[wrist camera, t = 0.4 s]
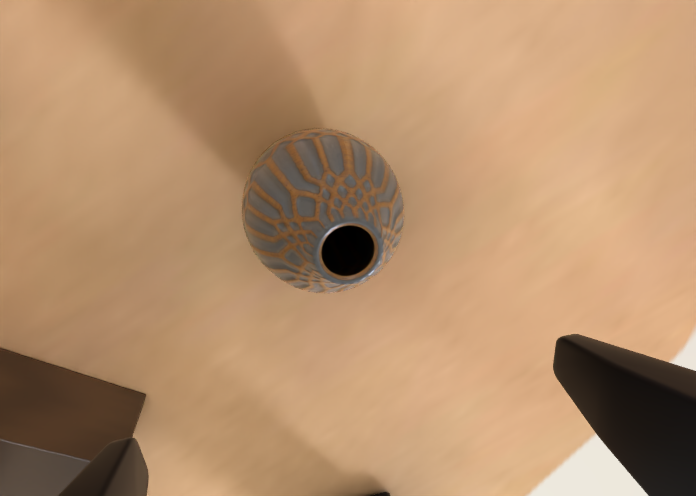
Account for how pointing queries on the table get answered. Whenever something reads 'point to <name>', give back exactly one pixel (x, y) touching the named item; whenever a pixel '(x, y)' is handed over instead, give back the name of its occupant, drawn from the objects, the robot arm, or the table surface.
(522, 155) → the table surface
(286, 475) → the table surface
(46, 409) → the stand
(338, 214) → the vase
